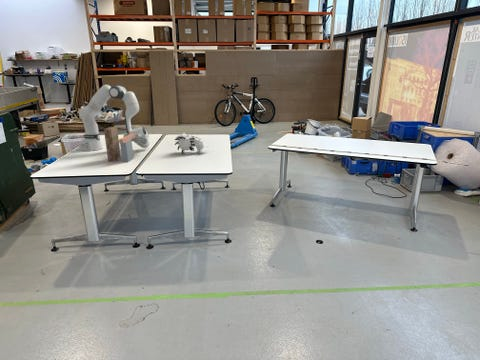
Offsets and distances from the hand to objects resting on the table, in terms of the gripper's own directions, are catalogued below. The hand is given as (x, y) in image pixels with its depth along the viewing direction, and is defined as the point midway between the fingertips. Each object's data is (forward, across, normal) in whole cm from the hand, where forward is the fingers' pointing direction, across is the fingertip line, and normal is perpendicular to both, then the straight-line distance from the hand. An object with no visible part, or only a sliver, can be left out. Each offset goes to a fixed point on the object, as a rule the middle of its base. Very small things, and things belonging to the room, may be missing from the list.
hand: (131, 134), depth 276 cm
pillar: (+1, -11, +22) cm, 25 cm away
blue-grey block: (+1, 0, +22) cm, 23 cm away
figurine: (-26, +46, +7) cm, 53 cm away
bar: (+6, 0, +7) cm, 10 cm away
